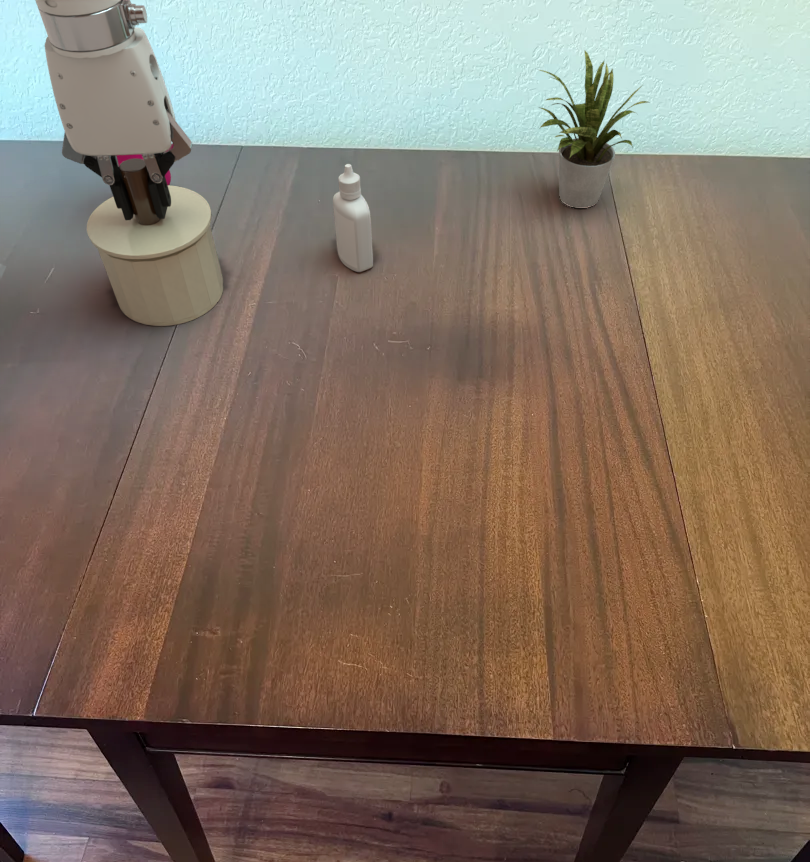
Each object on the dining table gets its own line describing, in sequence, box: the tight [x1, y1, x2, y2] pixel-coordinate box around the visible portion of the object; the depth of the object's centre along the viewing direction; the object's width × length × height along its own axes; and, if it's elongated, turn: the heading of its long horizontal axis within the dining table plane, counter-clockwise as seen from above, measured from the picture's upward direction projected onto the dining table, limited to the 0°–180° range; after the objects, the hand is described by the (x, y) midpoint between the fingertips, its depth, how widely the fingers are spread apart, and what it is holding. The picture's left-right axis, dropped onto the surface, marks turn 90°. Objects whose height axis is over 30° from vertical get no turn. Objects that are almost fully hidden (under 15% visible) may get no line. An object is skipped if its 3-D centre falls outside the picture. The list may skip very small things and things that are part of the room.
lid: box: [86, 158, 213, 259], centre depth 83 cm, size 13×13×7 cm
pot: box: [97, 225, 224, 327], centre depth 89 cm, size 12×12×8 cm
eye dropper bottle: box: [332, 163, 374, 273], centre depth 91 cm, size 4×6×12 cm
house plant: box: [537, 50, 651, 207], centre depth 97 cm, size 14×14×16 cm
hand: (146, 211), depth 84 cm, fingers closed on lid, 2 cm apart
